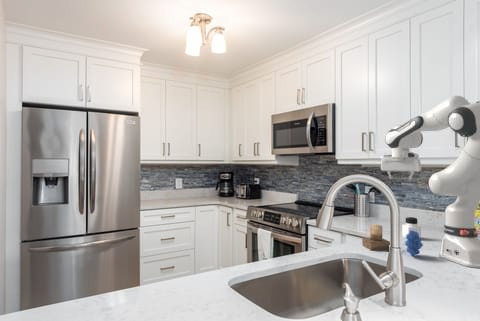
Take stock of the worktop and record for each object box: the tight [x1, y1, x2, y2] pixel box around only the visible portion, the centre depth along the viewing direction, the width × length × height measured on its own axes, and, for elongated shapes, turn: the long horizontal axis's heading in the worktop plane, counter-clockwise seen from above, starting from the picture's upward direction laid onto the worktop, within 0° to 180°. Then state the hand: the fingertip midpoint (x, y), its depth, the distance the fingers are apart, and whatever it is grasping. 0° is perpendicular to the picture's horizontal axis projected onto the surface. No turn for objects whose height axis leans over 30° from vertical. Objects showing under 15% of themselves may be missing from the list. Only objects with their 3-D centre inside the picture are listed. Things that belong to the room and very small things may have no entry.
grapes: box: [404, 230, 424, 257], centre depth 144 cm, size 12×7×12 cm, turn 125°
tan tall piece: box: [369, 224, 383, 241], centre depth 159 cm, size 6×6×11 cm
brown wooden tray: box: [361, 237, 391, 252], centre depth 159 cm, size 10×10×4 cm
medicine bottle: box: [401, 216, 422, 240], centre depth 182 cm, size 7×7×12 cm
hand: (400, 179), depth 176 cm, fingers open, 8 cm apart
